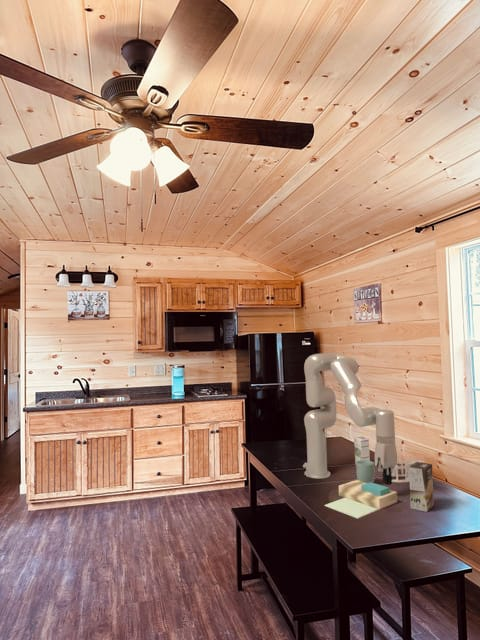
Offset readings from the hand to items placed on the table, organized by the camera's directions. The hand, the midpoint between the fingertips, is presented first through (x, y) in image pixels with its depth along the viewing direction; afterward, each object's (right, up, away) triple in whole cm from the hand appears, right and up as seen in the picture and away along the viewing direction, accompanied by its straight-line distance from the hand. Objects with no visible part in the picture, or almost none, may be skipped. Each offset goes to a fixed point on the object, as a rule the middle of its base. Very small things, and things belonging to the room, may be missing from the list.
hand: (387, 483), depth 178 cm
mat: (-18, -5, -12) cm, 22 cm away
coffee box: (+10, -5, -12) cm, 16 cm away
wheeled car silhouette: (+17, -7, +23) cm, 29 cm away
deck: (-9, -5, -2) cm, 11 cm away
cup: (-5, -6, +15) cm, 17 cm away
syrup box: (+2, -8, +44) cm, 45 cm away
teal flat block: (-7, -1, -5) cm, 9 cm away
